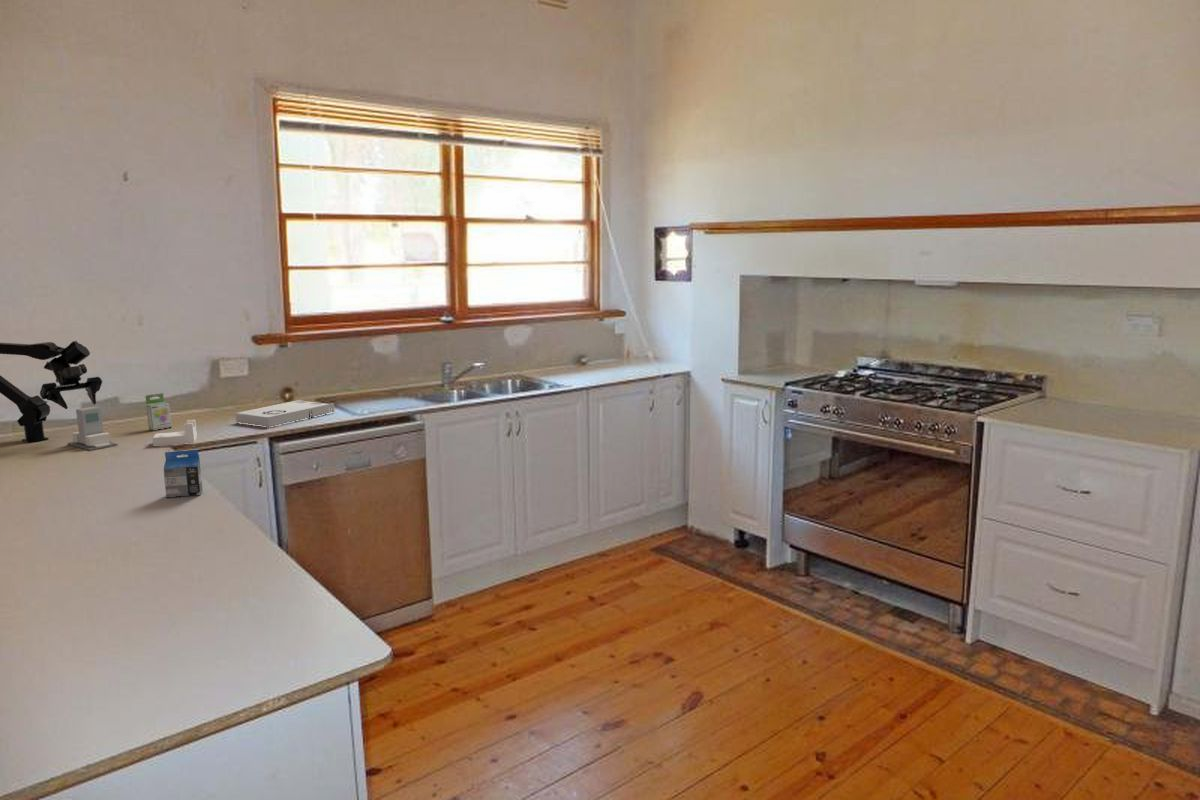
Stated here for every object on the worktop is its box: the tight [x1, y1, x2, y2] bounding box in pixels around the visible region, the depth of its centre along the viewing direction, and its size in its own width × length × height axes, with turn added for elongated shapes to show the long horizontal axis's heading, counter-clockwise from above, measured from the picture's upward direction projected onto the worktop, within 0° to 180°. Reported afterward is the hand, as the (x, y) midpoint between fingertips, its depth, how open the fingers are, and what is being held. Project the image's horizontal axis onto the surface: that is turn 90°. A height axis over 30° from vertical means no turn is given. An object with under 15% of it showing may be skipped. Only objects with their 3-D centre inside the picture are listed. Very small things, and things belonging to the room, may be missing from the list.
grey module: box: [75, 406, 104, 444], centre depth 293 cm, size 5×6×12 cm
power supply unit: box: [235, 399, 335, 427], centre depth 337 cm, size 19×33×5 cm, turn 151°
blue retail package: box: [163, 449, 203, 498], centre depth 232 cm, size 9×4×12 cm, turn 105°
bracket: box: [152, 419, 198, 447], centre depth 295 cm, size 13×7×8 cm, turn 108°
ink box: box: [145, 392, 173, 431], centre depth 318 cm, size 7×4×13 cm, turn 143°
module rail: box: [67, 431, 119, 452], centre depth 294 cm, size 17×9×4 cm, turn 55°
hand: (81, 406), depth 294 cm, fingers open, 9 cm apart
